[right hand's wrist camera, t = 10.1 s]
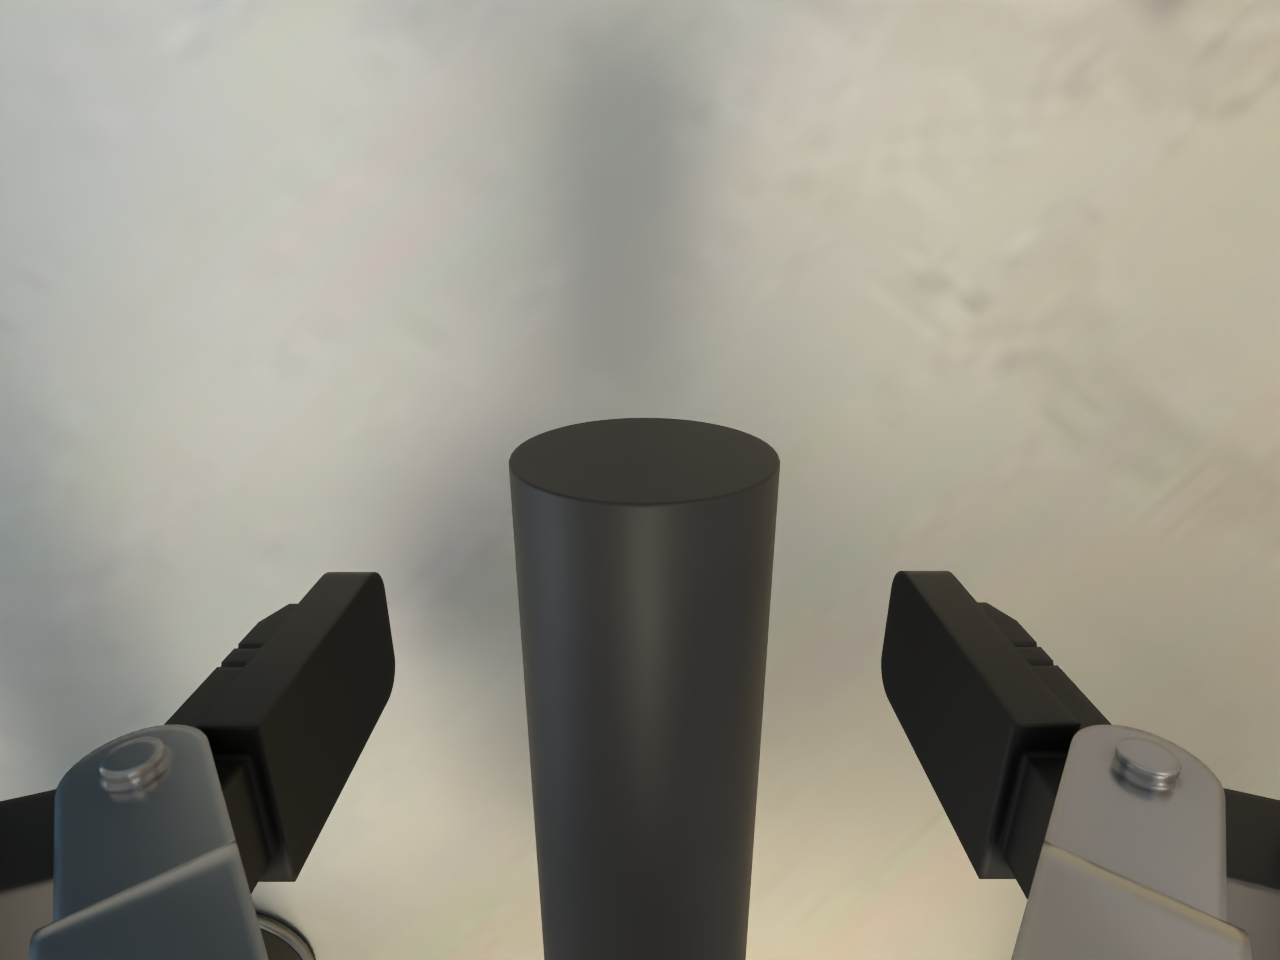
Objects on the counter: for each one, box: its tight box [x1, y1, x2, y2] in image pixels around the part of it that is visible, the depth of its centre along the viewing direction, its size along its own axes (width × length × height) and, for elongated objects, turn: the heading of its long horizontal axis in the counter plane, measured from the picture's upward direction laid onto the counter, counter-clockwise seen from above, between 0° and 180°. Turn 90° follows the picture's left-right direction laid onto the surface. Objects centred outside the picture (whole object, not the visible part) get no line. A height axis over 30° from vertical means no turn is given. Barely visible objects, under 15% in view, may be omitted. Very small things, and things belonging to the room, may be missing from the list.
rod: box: [509, 418, 780, 960], centre depth 21 cm, size 28×6×6 cm, turn 0°
